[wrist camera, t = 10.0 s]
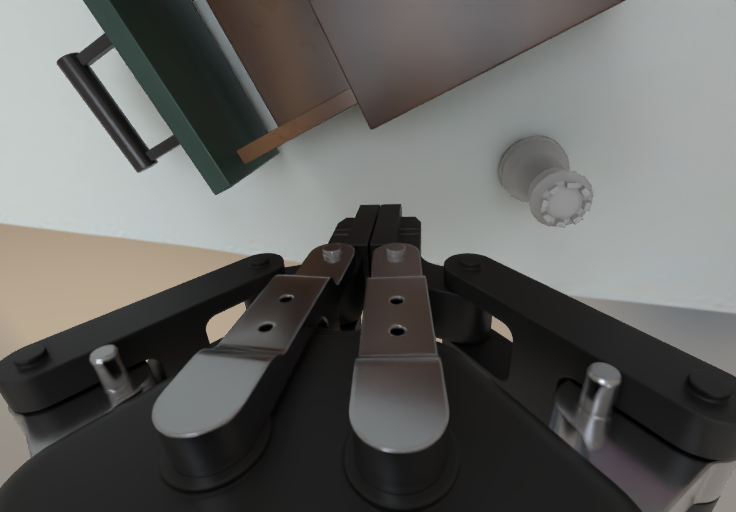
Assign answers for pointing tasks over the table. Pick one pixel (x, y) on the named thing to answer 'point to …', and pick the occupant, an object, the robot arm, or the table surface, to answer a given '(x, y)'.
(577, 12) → the cabinet
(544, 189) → the rook chess piece
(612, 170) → the table surface
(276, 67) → the drawer
